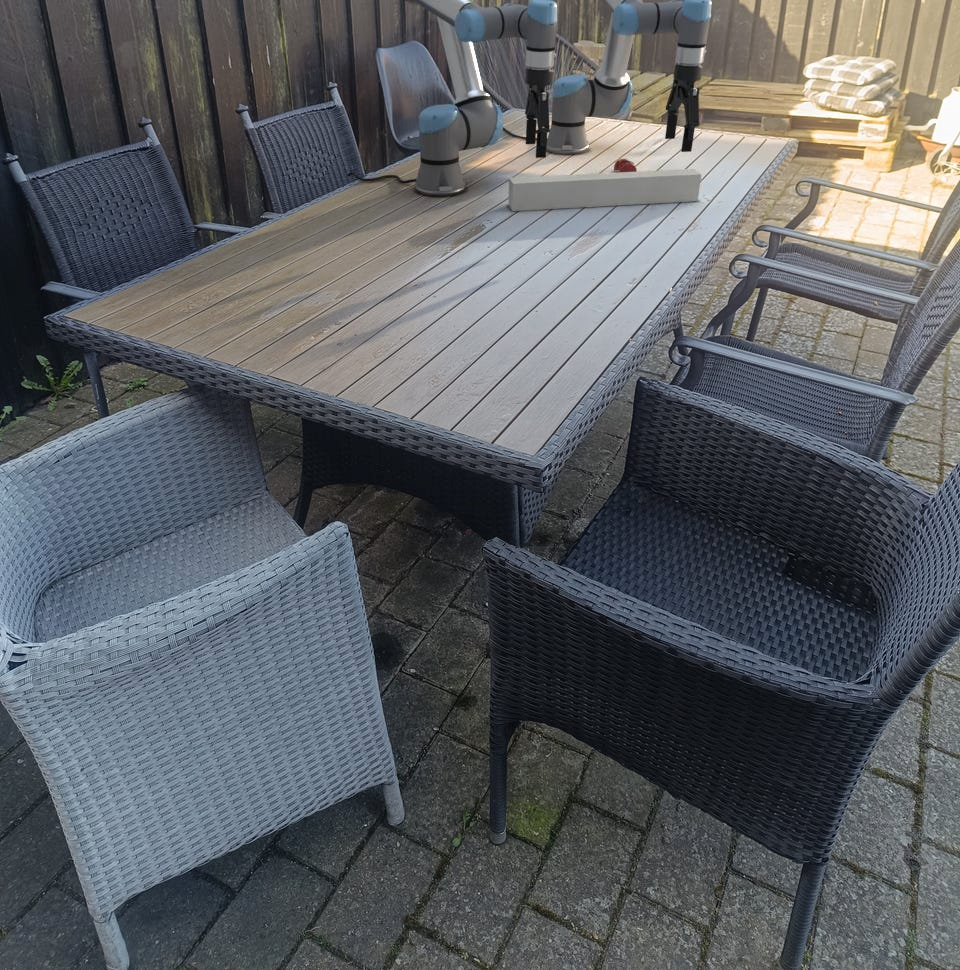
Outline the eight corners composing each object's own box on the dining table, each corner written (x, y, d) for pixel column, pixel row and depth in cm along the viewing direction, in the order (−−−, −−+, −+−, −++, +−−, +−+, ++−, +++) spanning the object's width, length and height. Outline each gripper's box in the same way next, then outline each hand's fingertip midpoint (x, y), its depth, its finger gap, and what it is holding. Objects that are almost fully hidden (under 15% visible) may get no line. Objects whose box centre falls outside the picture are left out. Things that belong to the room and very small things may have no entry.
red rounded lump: (629, 155, 274) (638, 161, 268) (628, 168, 277) (637, 175, 271) (612, 157, 273) (622, 163, 267) (612, 170, 276) (621, 177, 270)
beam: (512, 211, 242) (512, 183, 237) (508, 204, 246) (508, 177, 242) (697, 201, 249) (701, 174, 245) (690, 195, 254) (694, 168, 249)
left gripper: (564, 77, 214) (558, 162, 227) (543, 58, 234) (539, 138, 246) (535, 77, 213) (531, 163, 226) (516, 58, 233) (513, 138, 245)
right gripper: (719, 72, 220) (706, 156, 232) (686, 54, 239) (675, 133, 252) (692, 73, 219) (680, 157, 231) (660, 55, 238) (651, 133, 251)
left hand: (535, 150), depth 236 cm, fingers open, 13 cm apart
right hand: (677, 145), depth 242 cm, fingers open, 13 cm apart
